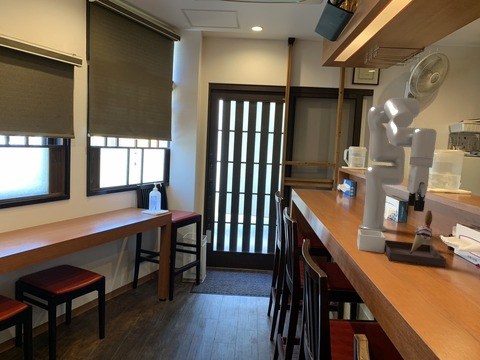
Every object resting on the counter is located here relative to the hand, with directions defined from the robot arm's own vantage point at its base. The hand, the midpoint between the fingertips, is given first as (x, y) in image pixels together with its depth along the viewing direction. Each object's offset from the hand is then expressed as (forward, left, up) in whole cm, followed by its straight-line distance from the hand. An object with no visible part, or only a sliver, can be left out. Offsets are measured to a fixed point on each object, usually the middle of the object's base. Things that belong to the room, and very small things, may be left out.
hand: (415, 208), depth 128 cm
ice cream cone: (0, 0, -18) cm, 18 cm away
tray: (+1, 0, -18) cm, 18 cm away
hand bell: (-13, +8, -19) cm, 24 cm away
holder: (-4, -14, -18) cm, 23 cm away
